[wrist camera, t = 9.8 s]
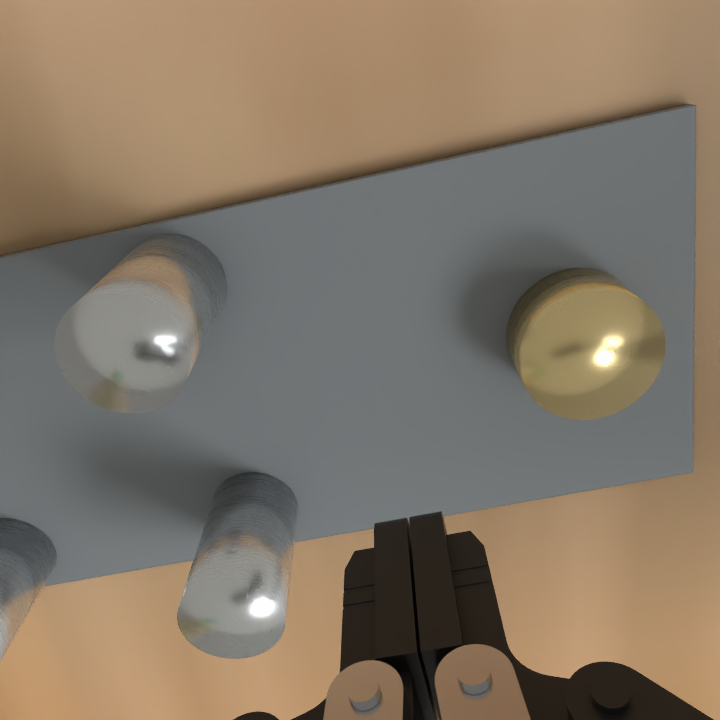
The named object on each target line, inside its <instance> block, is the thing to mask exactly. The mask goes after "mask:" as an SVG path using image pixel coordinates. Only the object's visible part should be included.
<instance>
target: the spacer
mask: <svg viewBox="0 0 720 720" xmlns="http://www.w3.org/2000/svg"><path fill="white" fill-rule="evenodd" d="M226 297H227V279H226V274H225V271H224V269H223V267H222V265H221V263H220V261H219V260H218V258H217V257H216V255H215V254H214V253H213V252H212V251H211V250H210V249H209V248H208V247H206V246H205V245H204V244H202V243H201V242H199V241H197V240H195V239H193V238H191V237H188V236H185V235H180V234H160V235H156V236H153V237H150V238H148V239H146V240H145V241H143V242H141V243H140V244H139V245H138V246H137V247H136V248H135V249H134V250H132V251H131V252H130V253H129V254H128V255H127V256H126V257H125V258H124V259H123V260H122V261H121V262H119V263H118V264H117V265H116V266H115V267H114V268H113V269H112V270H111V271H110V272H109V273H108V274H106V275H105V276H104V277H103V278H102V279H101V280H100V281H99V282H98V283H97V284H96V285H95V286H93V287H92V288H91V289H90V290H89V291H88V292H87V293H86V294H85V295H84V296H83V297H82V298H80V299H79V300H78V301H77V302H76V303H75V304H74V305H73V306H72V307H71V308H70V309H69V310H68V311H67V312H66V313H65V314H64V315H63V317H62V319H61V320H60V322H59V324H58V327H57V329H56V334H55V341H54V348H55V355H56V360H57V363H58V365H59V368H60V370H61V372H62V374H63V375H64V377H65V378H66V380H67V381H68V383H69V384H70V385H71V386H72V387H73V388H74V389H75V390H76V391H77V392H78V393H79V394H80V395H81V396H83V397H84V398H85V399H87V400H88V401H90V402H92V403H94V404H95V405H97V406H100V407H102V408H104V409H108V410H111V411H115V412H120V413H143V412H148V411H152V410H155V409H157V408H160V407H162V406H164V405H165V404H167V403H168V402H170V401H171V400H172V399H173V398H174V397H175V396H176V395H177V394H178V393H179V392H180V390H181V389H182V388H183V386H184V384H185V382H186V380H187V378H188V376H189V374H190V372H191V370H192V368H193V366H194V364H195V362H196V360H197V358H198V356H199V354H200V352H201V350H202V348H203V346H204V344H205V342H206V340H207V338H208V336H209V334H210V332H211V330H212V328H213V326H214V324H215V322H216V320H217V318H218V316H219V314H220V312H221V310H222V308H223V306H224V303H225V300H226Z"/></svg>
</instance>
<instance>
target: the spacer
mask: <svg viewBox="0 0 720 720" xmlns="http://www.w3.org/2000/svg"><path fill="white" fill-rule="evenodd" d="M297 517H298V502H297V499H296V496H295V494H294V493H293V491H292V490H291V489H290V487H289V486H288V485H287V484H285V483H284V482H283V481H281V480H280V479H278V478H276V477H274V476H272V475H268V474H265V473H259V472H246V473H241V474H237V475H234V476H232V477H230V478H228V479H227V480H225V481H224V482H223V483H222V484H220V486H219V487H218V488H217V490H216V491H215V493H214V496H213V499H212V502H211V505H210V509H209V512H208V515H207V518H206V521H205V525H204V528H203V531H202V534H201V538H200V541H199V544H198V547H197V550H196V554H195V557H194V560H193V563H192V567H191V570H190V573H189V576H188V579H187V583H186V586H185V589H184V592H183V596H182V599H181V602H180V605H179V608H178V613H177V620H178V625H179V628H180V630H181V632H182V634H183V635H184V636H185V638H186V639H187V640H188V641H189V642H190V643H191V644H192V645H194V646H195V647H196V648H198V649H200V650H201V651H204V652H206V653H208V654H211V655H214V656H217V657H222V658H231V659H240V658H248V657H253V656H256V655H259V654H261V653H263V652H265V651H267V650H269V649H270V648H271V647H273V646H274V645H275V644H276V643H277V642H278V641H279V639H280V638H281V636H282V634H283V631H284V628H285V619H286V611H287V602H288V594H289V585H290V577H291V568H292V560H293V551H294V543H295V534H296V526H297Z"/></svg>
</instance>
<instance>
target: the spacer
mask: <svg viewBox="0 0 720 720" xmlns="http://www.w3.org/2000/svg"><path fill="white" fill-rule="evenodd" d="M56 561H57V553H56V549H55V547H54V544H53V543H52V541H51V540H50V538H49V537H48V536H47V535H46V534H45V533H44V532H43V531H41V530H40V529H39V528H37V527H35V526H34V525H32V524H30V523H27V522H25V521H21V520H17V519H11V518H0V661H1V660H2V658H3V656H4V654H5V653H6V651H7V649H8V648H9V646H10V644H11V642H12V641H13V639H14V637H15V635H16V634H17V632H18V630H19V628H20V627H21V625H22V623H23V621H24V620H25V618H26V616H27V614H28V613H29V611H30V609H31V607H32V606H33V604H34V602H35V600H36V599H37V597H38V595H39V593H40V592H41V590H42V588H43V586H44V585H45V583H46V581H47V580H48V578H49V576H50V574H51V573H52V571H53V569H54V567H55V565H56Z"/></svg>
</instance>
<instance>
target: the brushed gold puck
mask: <svg viewBox="0 0 720 720" xmlns="http://www.w3.org/2000/svg"><path fill="white" fill-rule="evenodd" d="M506 343H507V348H508V352H509V355H510V357H511V359H512V361H513V363H514V365H515V367H516V369H517V371H518V373H519V375H520V377H521V379H522V381H523V383H524V385H525V387H526V389H527V391H528V392H529V394H530V396H531V397H532V398H533V399H534V400H535V402H536V403H538V404H539V405H540V406H541V407H542V408H544V409H545V410H547V411H548V412H550V413H552V414H554V415H557V416H560V417H563V418H568V419H574V420H591V419H597V418H602V417H606V416H609V415H611V414H614V413H617V412H619V411H621V410H623V409H625V408H626V407H628V406H629V405H631V404H633V403H634V402H635V401H636V400H638V399H639V398H640V397H641V396H642V395H643V394H644V393H645V392H646V391H647V390H648V389H649V388H650V386H651V385H652V384H653V382H654V381H655V379H656V377H657V376H658V374H659V372H660V369H661V367H662V364H663V361H664V356H665V350H666V340H665V333H664V330H663V326H662V324H661V322H660V320H659V318H658V317H657V315H656V314H655V312H654V311H653V310H652V309H651V308H650V307H649V306H648V305H647V304H646V303H645V302H644V301H642V300H641V299H640V298H639V297H638V296H637V295H636V294H634V293H633V292H632V291H631V290H630V289H629V288H628V287H626V286H625V285H624V284H623V283H622V282H621V281H619V280H618V279H617V278H615V277H614V276H612V275H610V274H608V273H606V272H603V271H601V270H597V269H592V268H570V269H565V270H561V271H558V272H555V273H552V274H550V275H548V276H546V277H544V278H542V279H541V280H539V281H538V282H536V283H535V284H533V285H532V286H531V287H530V288H529V289H528V290H527V291H526V292H525V293H524V294H523V295H522V296H521V297H520V298H519V300H518V301H517V303H516V305H515V306H514V308H513V310H512V312H511V314H510V317H509V320H508V324H507V329H506Z"/></svg>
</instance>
